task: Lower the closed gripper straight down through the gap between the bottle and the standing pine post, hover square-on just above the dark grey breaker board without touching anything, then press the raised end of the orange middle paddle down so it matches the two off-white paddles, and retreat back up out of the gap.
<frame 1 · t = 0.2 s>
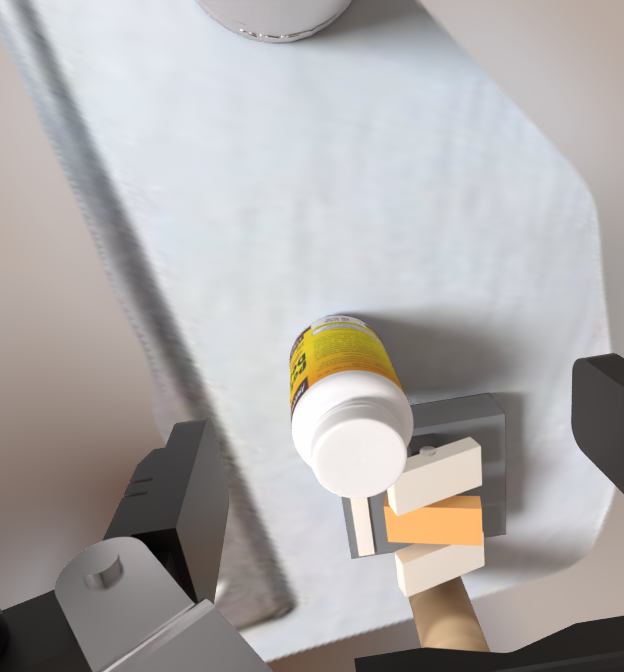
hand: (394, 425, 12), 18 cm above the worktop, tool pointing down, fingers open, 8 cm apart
paddle near bottle: (432, 473, 28), point 5 cm above the worktop, hinge at -15.0°
supplement bottle: (335, 355, 31), on the worktop
breaker board: (414, 465, 34), on the worktop
paddle middle: (432, 516, 30), point 5 cm above the worktop, hinge at 15.0°
pine post: (421, 548, 37), on the worktop
paddle near post: (438, 556, 31), point 5 cm above the worktop, hinge at -15.0°
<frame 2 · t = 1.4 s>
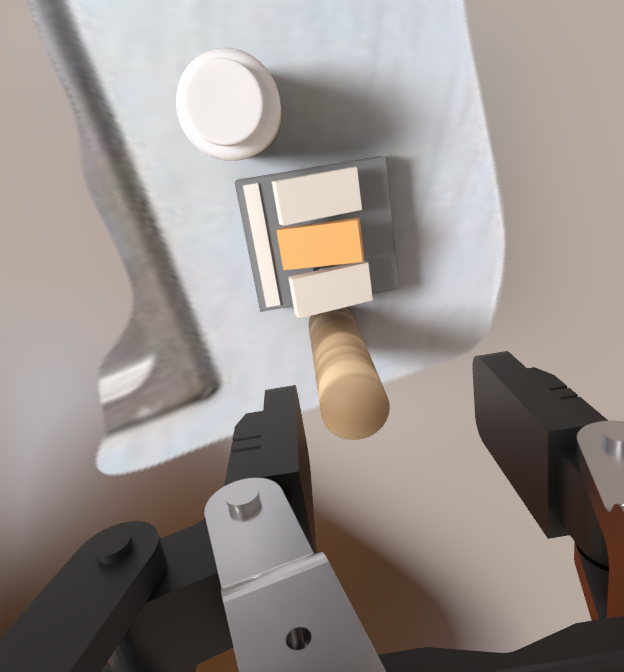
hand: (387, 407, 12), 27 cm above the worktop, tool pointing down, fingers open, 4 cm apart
paddle near bottle: (316, 195, 32), point 5 cm above the worktop, hinge at -15.0°
supplement bottle: (240, 114, 35), on the worktop
breaker board: (318, 232, 38), on the worktop
paddle middle: (321, 243, 33), point 5 cm above the worktop, hinge at 15.0°
pine post: (331, 324, 40), on the worktop
paddle near post: (330, 288, 34), point 5 cm above the worktop, hinge at -15.0°
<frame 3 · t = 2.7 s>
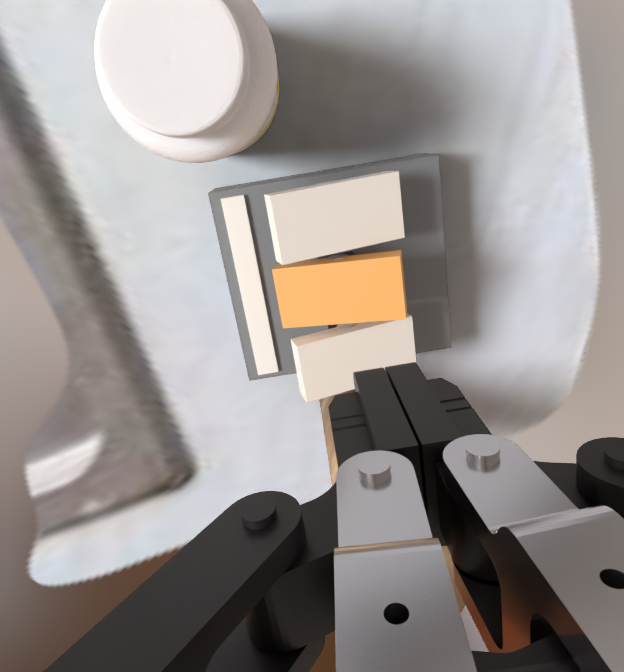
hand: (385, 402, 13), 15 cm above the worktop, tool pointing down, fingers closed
paddle near bottle: (334, 216, 21), point 5 cm above the worktop, hinge at -15.0°
supplement bottle: (217, 91, 23), on the worktop
breaker board: (332, 263, 26), on the worktop
paddle middle: (341, 288, 22), point 5 cm above the worktop, hinge at 15.0°
pine post: (351, 390, 29), on the worktop
paddle near post: (353, 353, 23), point 5 cm above the worktop, hinge at -15.0°
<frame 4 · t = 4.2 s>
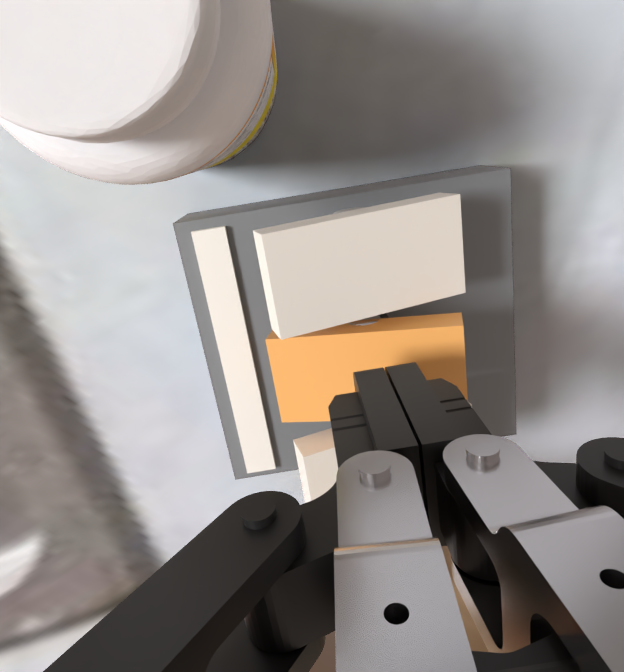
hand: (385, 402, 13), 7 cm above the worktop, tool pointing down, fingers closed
paddle near bottle: (360, 261, 14), point 5 cm above the worktop, hinge at -15.0°
supplement bottle: (189, 76, 16), on the worktop
breaker board: (350, 315, 19), on the worktop
paddle middle: (368, 366, 15), point 5 cm above the worktop, hinge at 15.0°
pine post: (372, 478, 22), on the worktop
paddle near post: (384, 456, 16), point 5 cm above the worktop, hinge at -15.0°
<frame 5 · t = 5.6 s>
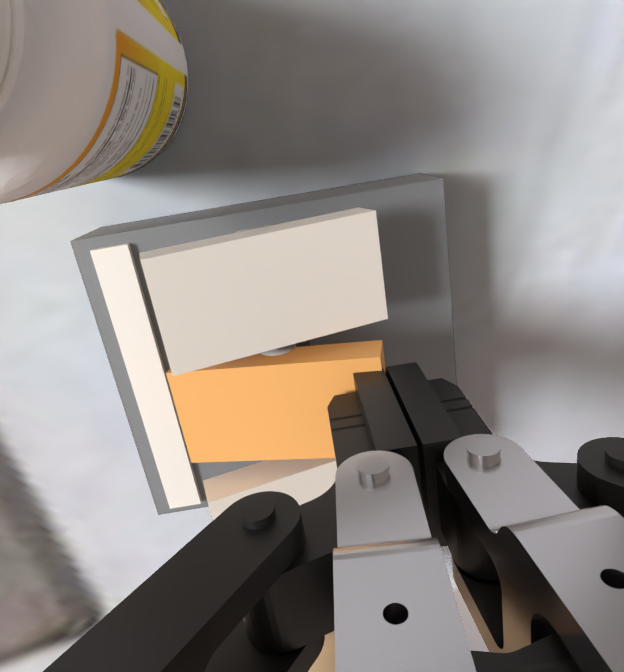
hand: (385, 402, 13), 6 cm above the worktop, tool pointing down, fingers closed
paddle near bottle: (268, 285, 12), point 5 cm above the worktop, hinge at -15.0°
supplement bottle: (95, 77, 15), on the worktop
breaker board: (285, 334, 18), on the worktop
paddle middle: (284, 399, 13), point 5 cm above the worktop, hinge at 13.1°, touching gripper
pine post: (317, 506, 20), on the worktop
paddle near post: (308, 495, 14), point 5 cm above the worktop, hinge at -15.0°
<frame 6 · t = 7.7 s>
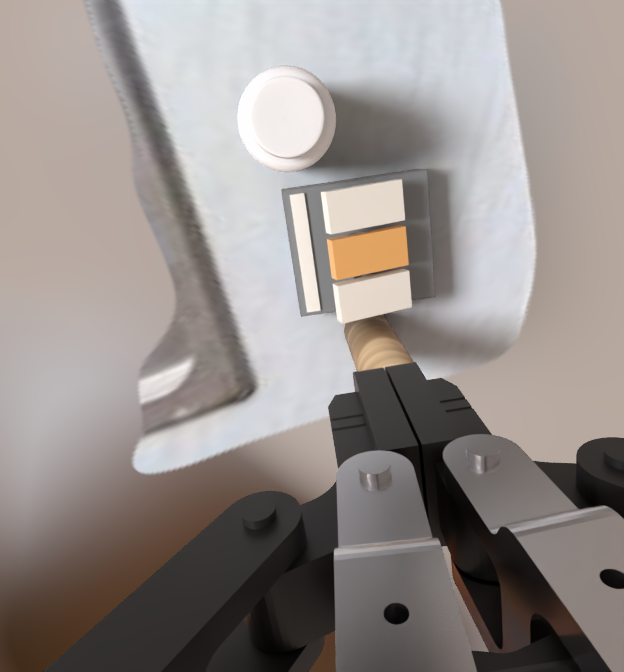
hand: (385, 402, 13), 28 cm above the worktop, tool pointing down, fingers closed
paddle near bottle: (362, 206, 34), point 5 cm above the worktop, hinge at -15.0°
supplement bottle: (286, 127, 37), on the worktop
breaker board: (356, 240, 39), on the worktop
paddle middle: (367, 251, 35), point 5 cm above the worktop, hinge at -14.6°
pine post: (366, 330, 42), on the worktop
paddle near post: (371, 294, 36), point 5 cm above the worktop, hinge at -15.0°
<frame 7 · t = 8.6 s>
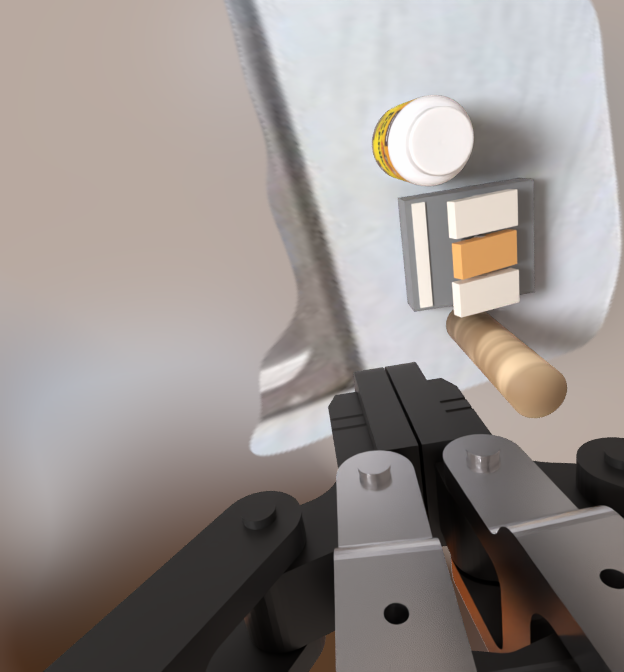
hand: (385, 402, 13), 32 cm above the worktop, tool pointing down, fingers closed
paddle near bottle: (481, 213, 38), point 5 cm above the worktop, hinge at -15.0°
supplement bottle: (404, 142, 41), on the worktop
breaker board: (461, 242, 44), on the worktop
paddle middle: (483, 253, 39), point 5 cm above the worktop, hinge at -21.3°
pine post: (466, 323, 46), on the worktop
paddle near post: (484, 291, 40), point 5 cm above the worktop, hinge at -15.0°
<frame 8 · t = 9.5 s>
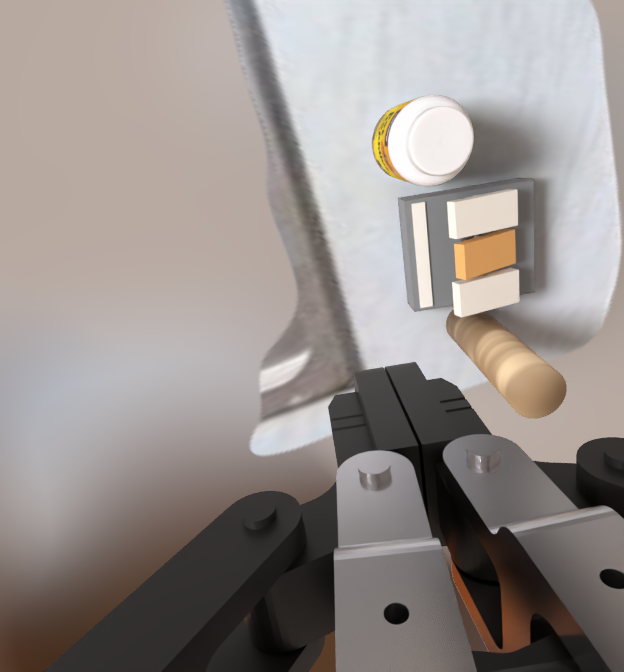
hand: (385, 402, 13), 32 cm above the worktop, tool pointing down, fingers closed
paddle near bottle: (481, 213, 38), point 5 cm above the worktop, hinge at -15.0°
supplement bottle: (404, 142, 41), on the worktop
breaker board: (461, 242, 44), on the worktop
paddle middle: (483, 253, 39), point 5 cm above the worktop, hinge at -26.4°
pine post: (466, 323, 46), on the worktop
paddle near post: (484, 291, 40), point 5 cm above the worktop, hinge at -15.0°
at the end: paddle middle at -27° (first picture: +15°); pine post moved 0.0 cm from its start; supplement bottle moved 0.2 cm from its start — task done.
